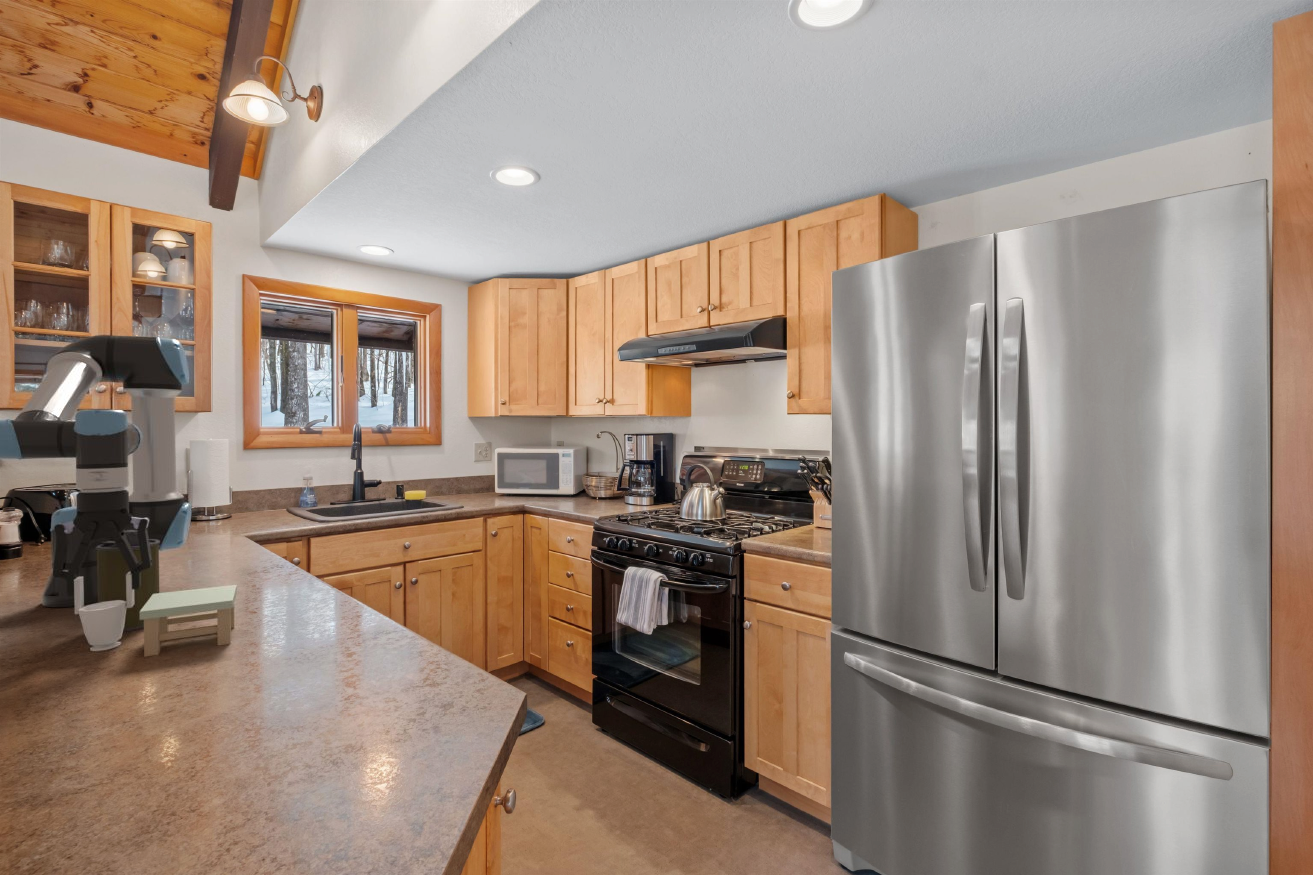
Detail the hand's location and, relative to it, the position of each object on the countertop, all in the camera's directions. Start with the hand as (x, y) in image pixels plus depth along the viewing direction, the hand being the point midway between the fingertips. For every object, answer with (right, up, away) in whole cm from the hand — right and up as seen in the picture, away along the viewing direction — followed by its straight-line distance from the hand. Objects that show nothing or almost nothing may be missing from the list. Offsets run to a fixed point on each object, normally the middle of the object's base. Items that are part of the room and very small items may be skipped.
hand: (105, 608), depth 120 cm
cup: (0, -7, 0) cm, 7 cm away
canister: (-6, -7, +13) cm, 16 cm away
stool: (+14, -7, +3) cm, 16 cm away
